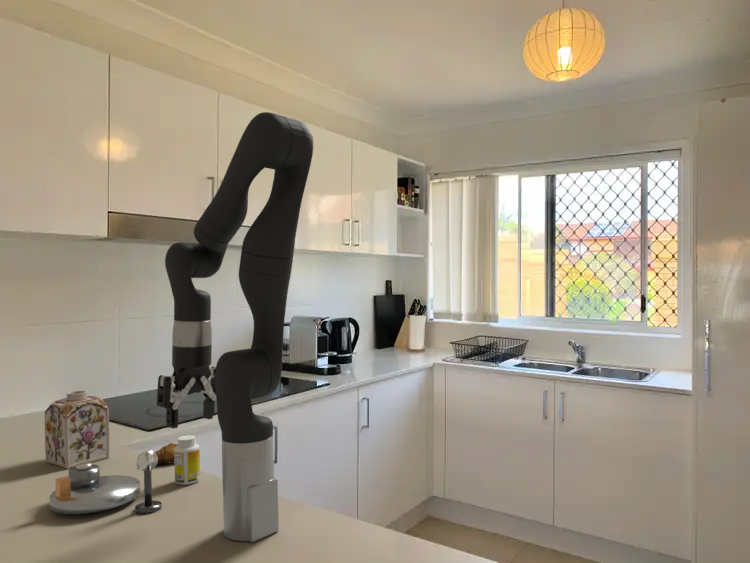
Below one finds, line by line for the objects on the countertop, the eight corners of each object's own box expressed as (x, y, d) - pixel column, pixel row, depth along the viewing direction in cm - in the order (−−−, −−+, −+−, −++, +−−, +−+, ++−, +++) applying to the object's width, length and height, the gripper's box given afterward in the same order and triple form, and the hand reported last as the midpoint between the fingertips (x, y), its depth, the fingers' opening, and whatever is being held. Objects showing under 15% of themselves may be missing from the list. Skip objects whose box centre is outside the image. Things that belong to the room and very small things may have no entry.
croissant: (194, 454, 153) (194, 435, 153) (201, 460, 147) (201, 441, 147) (141, 463, 146) (140, 444, 146) (146, 470, 140) (145, 450, 140)
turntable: (155, 494, 120) (154, 466, 120) (71, 521, 107) (70, 490, 107) (116, 478, 131) (116, 453, 131) (36, 501, 118) (35, 473, 118)
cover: (104, 482, 123) (104, 463, 123) (76, 490, 118) (75, 470, 119) (92, 477, 127) (91, 458, 127) (63, 484, 122) (63, 465, 122)
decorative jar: (88, 451, 158) (87, 386, 158) (111, 457, 151) (110, 390, 152) (43, 462, 148) (42, 393, 149) (65, 470, 142) (64, 398, 142)
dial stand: (166, 508, 116) (165, 450, 116) (143, 516, 112) (141, 456, 112) (153, 502, 119) (152, 446, 119) (130, 510, 115) (129, 451, 115)
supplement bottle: (202, 476, 134) (201, 433, 134) (197, 485, 129) (196, 440, 129) (178, 478, 134) (177, 434, 134) (172, 486, 128) (171, 441, 128)
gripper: (173, 348, 106) (172, 434, 106) (232, 340, 117) (231, 418, 118) (149, 344, 110) (148, 427, 110) (208, 337, 122) (207, 412, 122)
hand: (191, 422), depth 114 cm, fingers open, 8 cm apart
